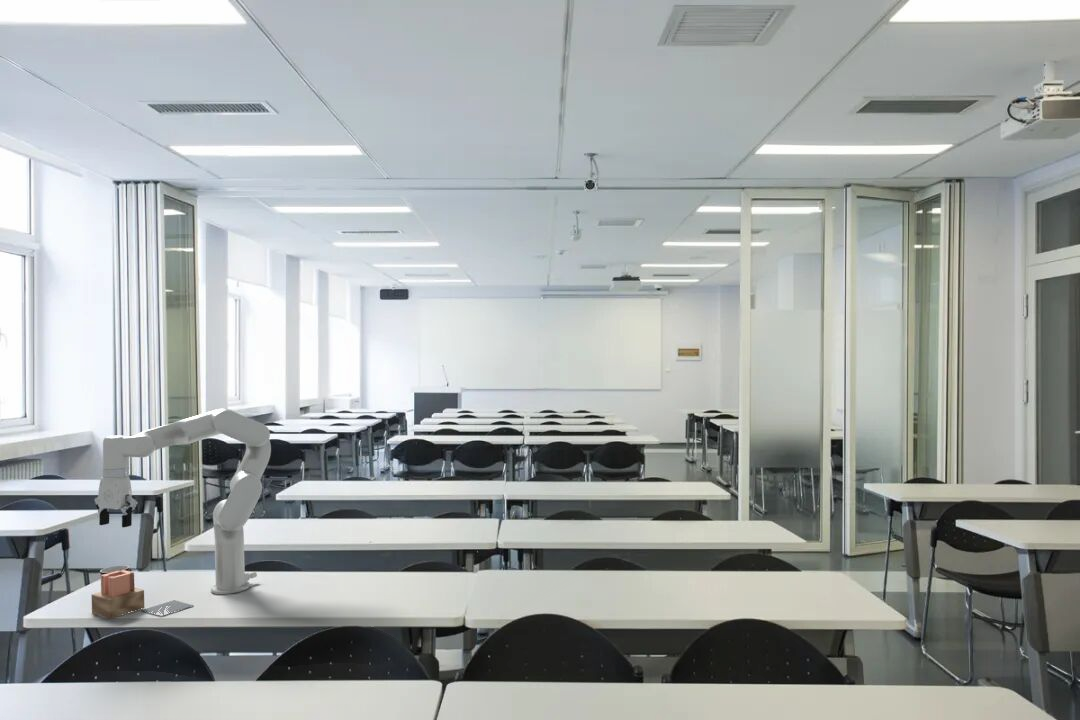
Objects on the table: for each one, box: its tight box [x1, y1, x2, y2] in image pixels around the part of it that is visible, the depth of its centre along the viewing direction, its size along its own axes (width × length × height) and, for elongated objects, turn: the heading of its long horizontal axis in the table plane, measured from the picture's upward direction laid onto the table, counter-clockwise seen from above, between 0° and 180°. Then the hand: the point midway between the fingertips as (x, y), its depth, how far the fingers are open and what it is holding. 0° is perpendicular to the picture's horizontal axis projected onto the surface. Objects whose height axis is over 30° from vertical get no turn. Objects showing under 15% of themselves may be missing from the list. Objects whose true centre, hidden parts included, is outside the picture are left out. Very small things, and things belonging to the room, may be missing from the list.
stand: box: [91, 587, 145, 620], centre depth 240 cm, size 11×11×10 cm
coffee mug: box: [99, 564, 130, 576], centre depth 254 cm, size 12×9×10 cm
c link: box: [100, 570, 136, 597], centre depth 240 cm, size 7×7×6 cm
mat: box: [141, 599, 194, 615], centre depth 240 cm, size 11×11×1 cm
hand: (115, 525), depth 242 cm, fingers open, 9 cm apart
